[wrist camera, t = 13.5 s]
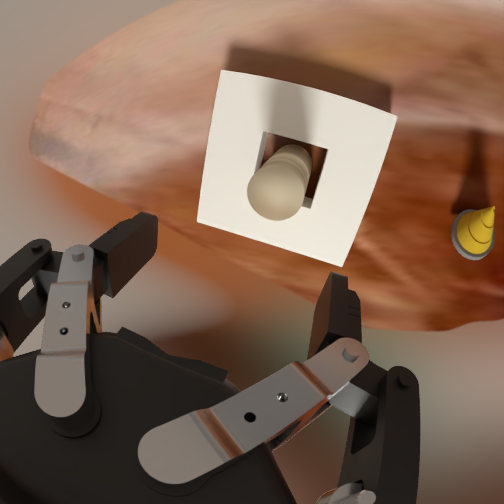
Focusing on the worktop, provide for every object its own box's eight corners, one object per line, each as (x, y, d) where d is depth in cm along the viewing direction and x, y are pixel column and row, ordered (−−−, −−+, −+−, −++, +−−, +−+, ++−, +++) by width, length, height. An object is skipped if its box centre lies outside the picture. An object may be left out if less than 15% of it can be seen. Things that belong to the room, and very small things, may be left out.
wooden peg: (277, 139, 28) (253, 159, 19) (316, 150, 27) (310, 175, 19) (269, 176, 30) (242, 211, 21) (306, 187, 29) (295, 227, 21)
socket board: (231, 72, 25) (221, 69, 22) (390, 114, 23) (397, 116, 21) (207, 211, 34) (196, 221, 31) (341, 252, 32) (341, 266, 29)
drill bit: (437, 243, 28) (458, 204, 20) (462, 214, 28) (486, 170, 19) (466, 276, 26) (499, 249, 17) (491, 245, 25) (525, 210, 17)
